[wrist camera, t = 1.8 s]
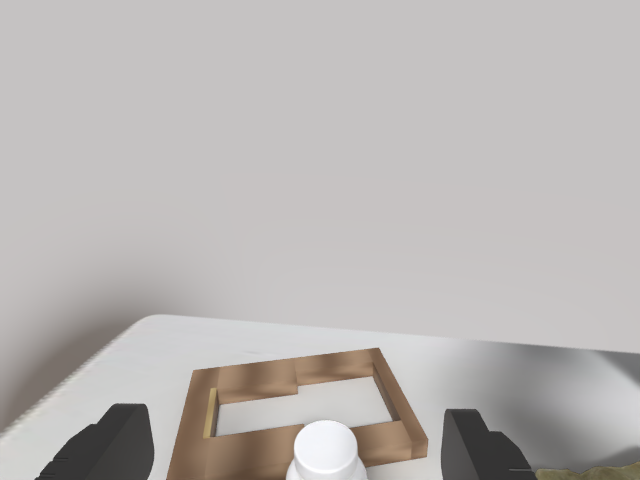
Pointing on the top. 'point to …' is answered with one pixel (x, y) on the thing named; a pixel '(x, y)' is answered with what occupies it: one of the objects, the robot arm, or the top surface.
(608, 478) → the decorative tile
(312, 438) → the supplement bottle
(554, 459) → the top surface
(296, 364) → the keyhole board
